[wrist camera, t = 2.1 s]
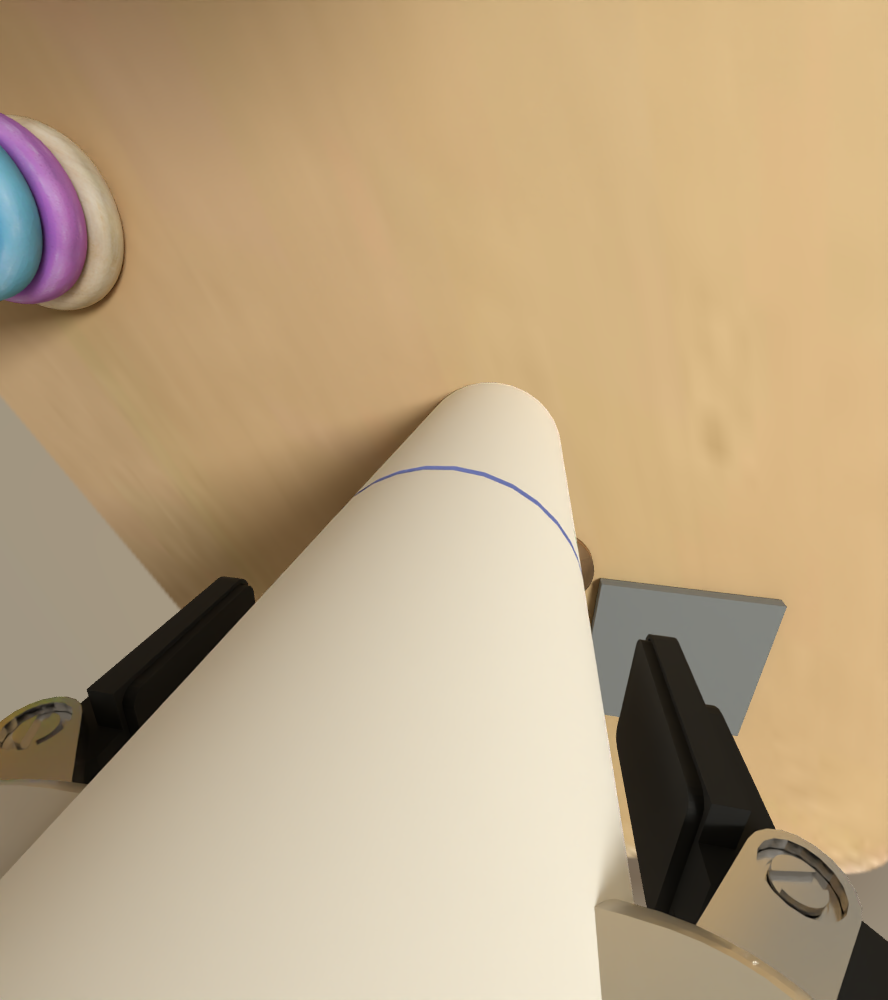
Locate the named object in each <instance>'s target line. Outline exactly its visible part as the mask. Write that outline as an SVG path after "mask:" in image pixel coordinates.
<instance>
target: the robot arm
mask: <svg viewBox="0 0 888 1000" xmlns="http://www.w3.org/2000/svg"><path fill="white" fill-rule="evenodd" d="M254 604H255V598H254V591H253V588H252V587H251V586H248V583H247V581H246V580H244V579H239V578H231V577H220V578H218V579H217V580H216V581H215V582H214V583H212V584H211V585H210V586H209V587H208V588H206V589H205V590H204V591H203V592H202V593H200V594H199V595H198V596H197V597H196V598H195V599H193V600H192V601H191V602H190V603H189V604H187V605H186V606H185V607H184V608H183V609H181V610H180V611H179V612H178V613H177V614H176V615H174V616H173V617H172V618H171V619H170V620H168V621H167V622H166V623H165V624H164V625H163V626H161V627H160V628H159V629H158V630H157V631H155V632H154V633H153V634H152V635H151V636H149V637H148V638H147V639H146V640H145V641H144V642H142V643H141V644H140V645H139V646H138V647H136V648H135V649H134V650H133V651H132V652H130V653H129V654H128V655H127V656H126V657H125V658H123V659H122V660H121V661H120V662H119V663H118V664H116V665H115V666H114V667H113V668H111V669H110V670H109V671H108V672H107V673H105V675H103V676H102V677H101V678H100V679H98V680H97V681H96V682H95V683H94V684H92V685H91V686H90V687H89V688H88V689H87V692H88V696H89V697H87V698H86V699H85V700H84V701H83V702H82V703H79V702H78V701H77V700H76V699H73V698H70V697H54V698H48V699H43V700H40V701H37V702H35V703H32V704H29V705H27V706H25V707H23V708H21V709H19V710H17V711H15V712H13V713H12V714H10V715H9V716H8V717H6V718H5V719H3V720H2V721H1V722H0V879H1V878H2V877H3V876H4V875H5V874H6V873H7V872H8V871H9V869H10V868H11V867H12V866H13V865H14V864H15V863H16V862H17V861H18V860H19V859H20V858H21V856H22V855H23V854H24V853H25V852H26V851H27V850H28V849H29V848H30V847H31V846H32V845H33V843H34V842H35V841H36V840H37V839H38V838H39V837H40V836H41V835H42V834H43V833H44V832H45V831H46V829H47V828H48V827H49V826H50V825H51V824H52V823H53V822H54V821H55V820H56V819H57V818H58V816H59V815H60V814H61V813H62V812H63V811H64V810H65V809H66V808H67V807H68V806H69V805H70V803H71V802H72V801H73V800H74V799H75V798H76V797H77V796H78V795H79V794H80V793H81V792H82V790H83V789H84V788H85V787H86V786H87V785H88V784H89V783H90V782H91V781H92V780H93V779H94V777H95V776H96V775H97V774H98V773H99V772H100V771H101V770H102V769H103V768H104V767H105V766H106V764H107V763H108V762H109V761H110V760H111V759H112V758H113V757H114V756H115V755H116V754H117V753H118V751H119V750H120V749H121V748H122V747H123V746H124V745H125V744H126V743H127V742H128V741H129V740H130V739H131V737H132V736H133V735H134V734H135V733H136V732H137V731H138V730H139V729H140V728H141V727H142V726H143V724H144V723H145V722H146V721H147V720H148V719H149V718H150V717H151V716H152V715H153V714H154V713H155V711H156V710H157V709H158V708H159V707H160V706H161V705H162V704H163V703H164V702H165V701H166V700H167V698H168V697H169V696H170V695H171V694H172V693H173V692H174V691H175V690H176V689H177V688H178V687H179V685H180V684H181V683H182V682H183V681H184V680H185V679H186V678H187V677H188V676H189V675H190V674H191V672H192V671H193V670H194V669H195V668H196V667H197V666H198V665H199V664H200V663H201V662H202V661H203V659H204V658H205V657H206V656H207V655H208V654H209V653H210V652H211V651H212V650H213V649H214V647H215V646H216V645H217V644H218V643H219V642H220V641H221V640H222V639H223V638H224V637H225V636H226V634H227V633H228V632H229V631H230V630H231V629H232V628H233V627H234V626H235V625H236V624H237V622H238V621H239V620H240V619H241V618H242V617H243V616H244V615H245V614H246V613H247V612H248V610H249V609H250V608H251V607H252V606H253V605H254ZM616 743H617V750H618V755H619V760H620V766H621V771H622V777H623V782H624V787H625V793H626V798H627V803H628V809H629V814H630V820H631V825H632V830H633V836H634V841H635V847H636V852H637V857H638V862H639V868H640V873H641V879H642V884H643V889H644V895H645V900H646V905H647V908H646V907H642V906H639V905H635V904H632V903H629V902H625V901H622V900H619V899H609V900H605V901H603V902H601V903H599V904H598V905H596V906H595V907H594V911H595V923H596V936H597V948H598V960H599V973H600V985H601V997H602V1000H888V941H886V940H885V939H883V937H882V936H880V935H879V934H878V933H876V932H875V931H874V930H873V929H871V928H870V927H869V926H868V925H867V924H865V923H864V922H863V921H862V907H861V904H860V901H859V898H858V895H857V892H856V890H855V889H854V887H853V886H852V884H851V882H850V881H849V879H848V878H847V876H846V875H845V874H844V872H843V871H842V870H841V869H840V868H839V867H838V866H837V865H836V864H835V863H834V861H833V860H832V859H831V858H829V857H828V856H827V855H826V854H824V853H823V852H822V851H821V850H819V849H818V848H817V847H816V846H814V845H813V844H811V843H809V842H807V841H806V840H804V839H802V838H801V837H799V836H796V835H794V834H791V833H788V832H785V831H783V830H776V829H775V827H774V825H773V823H772V820H771V818H770V816H769V814H768V812H767V810H766V807H765V805H764V803H763V801H762V799H761V797H760V795H759V792H758V790H757V788H756V786H755V784H754V782H753V779H752V777H751V775H750V773H749V771H748V769H747V766H746V764H745V762H744V760H743V758H742V756H741V753H740V751H739V749H738V747H737V745H736V743H735V740H734V738H733V736H732V734H731V732H730V730H729V727H728V725H727V723H726V721H725V719H724V717H723V715H722V713H721V711H720V710H719V708H717V707H716V706H714V705H708V704H705V702H704V700H703V697H702V695H701V693H700V690H699V688H698V686H697V683H696V681H695V679H694V677H693V674H692V672H691V670H690V667H689V665H688V663H687V660H686V658H685V656H684V653H683V651H682V649H681V646H680V644H679V642H678V640H677V638H675V637H668V636H660V635H653V634H648V635H647V637H646V640H641V639H639V640H638V641H637V644H636V647H635V652H634V656H633V660H632V665H631V669H630V674H629V678H628V682H627V687H626V691H625V695H624V700H623V704H622V708H621V713H620V717H619V721H618V726H617V732H616Z"/></svg>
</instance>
